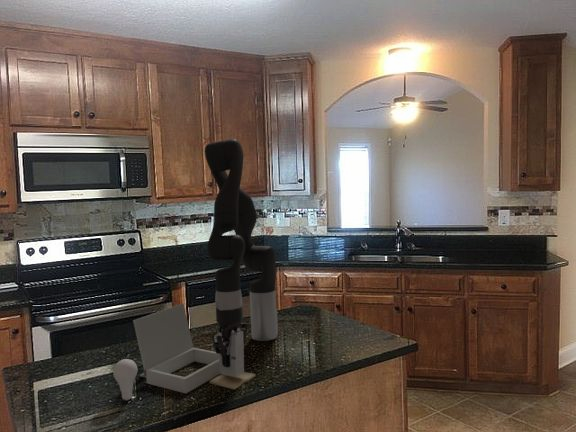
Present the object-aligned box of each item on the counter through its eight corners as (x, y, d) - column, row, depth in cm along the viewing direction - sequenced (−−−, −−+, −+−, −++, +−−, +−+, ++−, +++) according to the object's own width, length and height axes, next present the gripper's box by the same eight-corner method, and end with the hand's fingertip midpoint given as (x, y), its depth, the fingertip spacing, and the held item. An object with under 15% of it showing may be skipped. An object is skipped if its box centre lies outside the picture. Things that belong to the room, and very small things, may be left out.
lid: (193, 347, 157) (190, 347, 158) (183, 303, 157) (180, 303, 158) (145, 369, 140) (142, 370, 141) (134, 320, 140) (131, 320, 141)
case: (194, 359, 157) (193, 347, 157) (231, 367, 149) (230, 354, 149) (146, 383, 140) (145, 369, 140) (185, 393, 132) (185, 379, 132)
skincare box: (219, 374, 140) (216, 332, 139) (228, 368, 144) (226, 328, 143) (236, 377, 137) (234, 335, 136) (245, 371, 141) (243, 330, 140)
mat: (231, 370, 147) (230, 368, 147) (255, 376, 142) (255, 374, 142) (209, 383, 138) (209, 381, 138) (234, 389, 134) (234, 387, 134)
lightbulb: (142, 394, 133) (139, 355, 132) (135, 404, 127) (133, 363, 126) (119, 395, 133) (116, 356, 132) (112, 406, 127) (109, 364, 126)
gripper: (233, 298, 147) (236, 353, 148) (202, 310, 135) (205, 370, 136) (254, 300, 143) (256, 357, 144) (223, 313, 131) (226, 375, 132)
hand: (231, 363), depth 140 cm, fingers closed on skincare box, 4 cm apart
